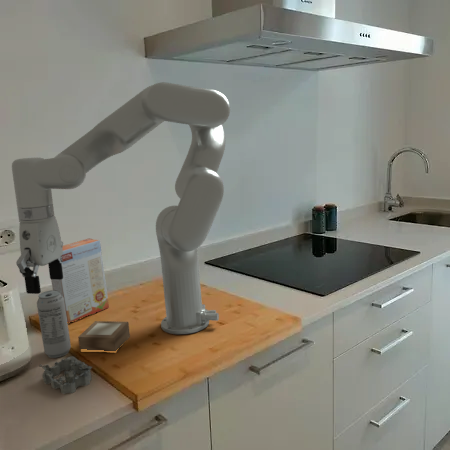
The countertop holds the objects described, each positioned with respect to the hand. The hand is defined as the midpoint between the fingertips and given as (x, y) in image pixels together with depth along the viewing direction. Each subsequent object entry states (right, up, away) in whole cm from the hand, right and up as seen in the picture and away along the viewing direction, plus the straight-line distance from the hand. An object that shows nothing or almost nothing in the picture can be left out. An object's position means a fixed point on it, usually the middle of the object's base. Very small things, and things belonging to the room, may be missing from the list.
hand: (45, 285), depth 110 cm
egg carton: (+8, -19, -9) cm, 23 cm away
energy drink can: (+2, -17, +4) cm, 17 cm away
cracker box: (+1, -12, +27) cm, 29 cm away
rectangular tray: (+12, -15, +7) cm, 21 cm away
